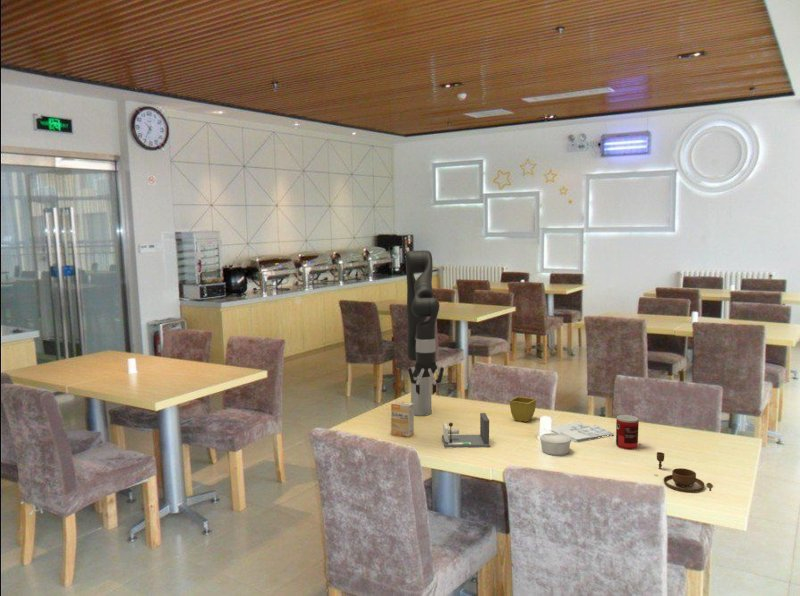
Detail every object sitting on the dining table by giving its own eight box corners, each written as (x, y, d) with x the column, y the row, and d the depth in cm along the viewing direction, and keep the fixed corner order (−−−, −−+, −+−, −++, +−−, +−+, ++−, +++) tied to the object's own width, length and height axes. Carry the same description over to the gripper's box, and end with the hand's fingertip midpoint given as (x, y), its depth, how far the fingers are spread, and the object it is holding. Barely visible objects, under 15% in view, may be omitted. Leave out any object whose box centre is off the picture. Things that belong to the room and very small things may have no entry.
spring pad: (443, 434, 254) (443, 422, 253) (457, 434, 254) (457, 422, 253) (445, 443, 244) (445, 430, 244) (460, 442, 244) (460, 429, 244)
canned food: (621, 441, 249) (622, 413, 248) (641, 446, 243) (642, 417, 242) (611, 446, 243) (612, 417, 242) (632, 451, 238) (633, 422, 237)
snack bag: (575, 444, 248) (575, 438, 248) (543, 429, 266) (543, 424, 266) (614, 437, 256) (614, 431, 255) (580, 423, 274) (580, 418, 274)
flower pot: (518, 416, 284) (518, 396, 283) (536, 419, 278) (536, 398, 278) (508, 421, 276) (509, 400, 276) (527, 424, 271) (528, 403, 270)
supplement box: (390, 435, 260) (390, 403, 258) (396, 431, 264) (395, 400, 262) (408, 437, 256) (408, 405, 254) (414, 434, 260) (414, 402, 259)
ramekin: (563, 445, 245) (563, 431, 245) (576, 455, 234) (576, 441, 234) (535, 447, 243) (535, 433, 243) (546, 457, 232) (547, 443, 232)
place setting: (653, 489, 204) (653, 471, 203) (653, 468, 223) (654, 451, 222) (714, 497, 198) (715, 479, 197) (710, 474, 216) (710, 457, 215)
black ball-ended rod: (448, 441, 245) (448, 421, 245) (452, 441, 245) (452, 421, 245) (448, 443, 244) (448, 423, 243) (453, 443, 244) (453, 423, 243)
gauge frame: (442, 437, 256) (441, 412, 254) (484, 436, 256) (484, 412, 255) (444, 447, 244) (444, 422, 243) (489, 447, 244) (489, 421, 243)
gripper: (443, 348, 249) (443, 391, 251) (406, 348, 249) (407, 391, 251) (445, 351, 242) (445, 396, 244) (407, 352, 242) (407, 396, 244)
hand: (426, 393), depth 247 cm, fingers open, 5 cm apart
